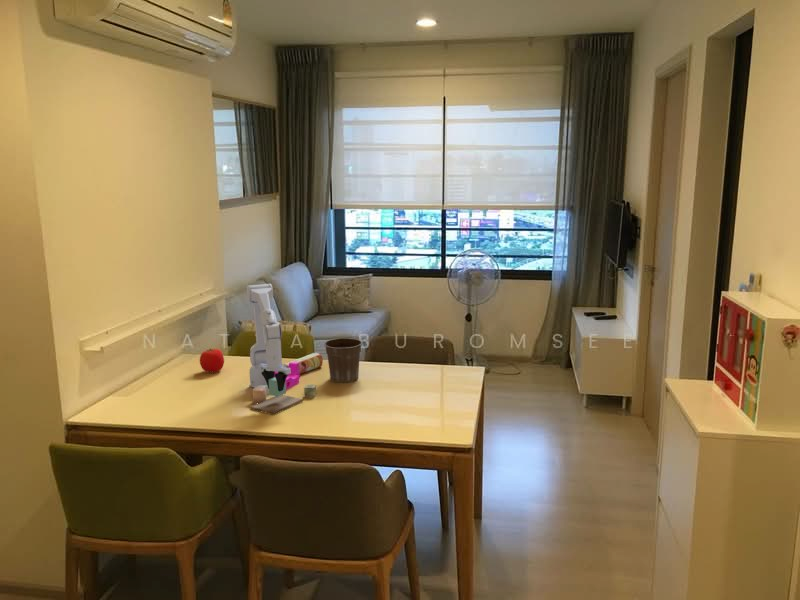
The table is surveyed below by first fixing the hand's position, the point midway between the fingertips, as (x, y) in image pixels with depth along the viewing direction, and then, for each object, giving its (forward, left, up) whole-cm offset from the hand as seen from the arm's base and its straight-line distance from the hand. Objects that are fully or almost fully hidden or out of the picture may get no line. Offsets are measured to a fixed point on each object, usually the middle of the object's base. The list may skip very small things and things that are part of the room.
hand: (276, 389), depth 243 cm
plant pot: (+3, +39, -7) cm, 40 cm away
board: (0, 0, -6) cm, 6 cm away
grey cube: (-13, +5, -6) cm, 15 cm away
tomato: (-57, +19, -7) cm, 60 cm away
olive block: (+4, +15, -6) cm, 17 cm away
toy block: (-14, +22, -7) cm, 27 cm away
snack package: (-20, +38, -7) cm, 43 cm away
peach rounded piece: (-9, 0, -6) cm, 11 cm away
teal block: (0, +1, -2) cm, 2 cm away
